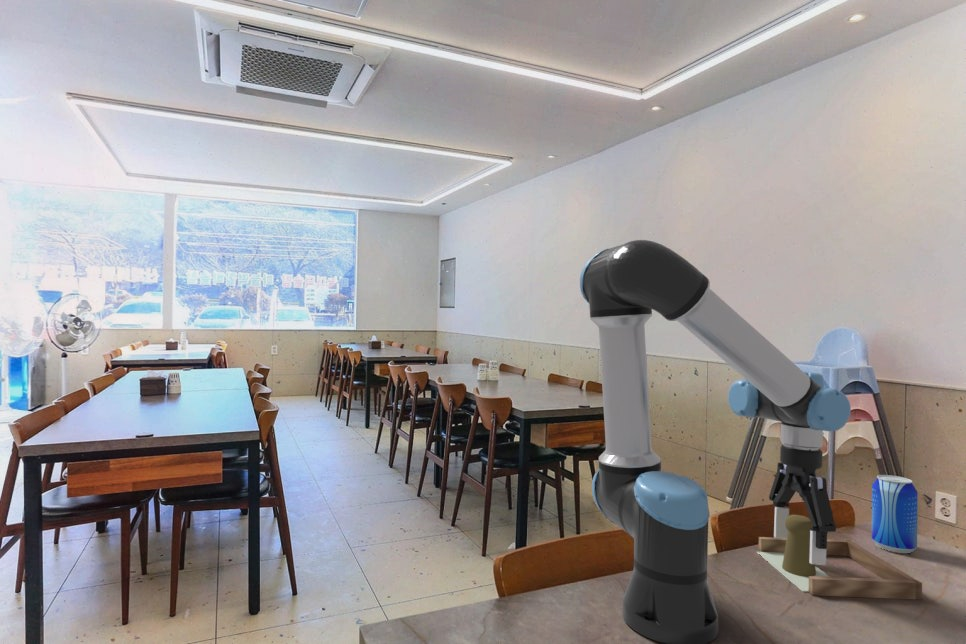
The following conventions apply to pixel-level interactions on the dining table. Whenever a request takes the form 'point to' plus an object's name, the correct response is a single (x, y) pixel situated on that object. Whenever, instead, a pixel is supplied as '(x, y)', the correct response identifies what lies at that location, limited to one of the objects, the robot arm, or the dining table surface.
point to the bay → (888, 587)
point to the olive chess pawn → (798, 546)
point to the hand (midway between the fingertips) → (798, 550)
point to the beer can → (894, 514)
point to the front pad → (777, 563)
